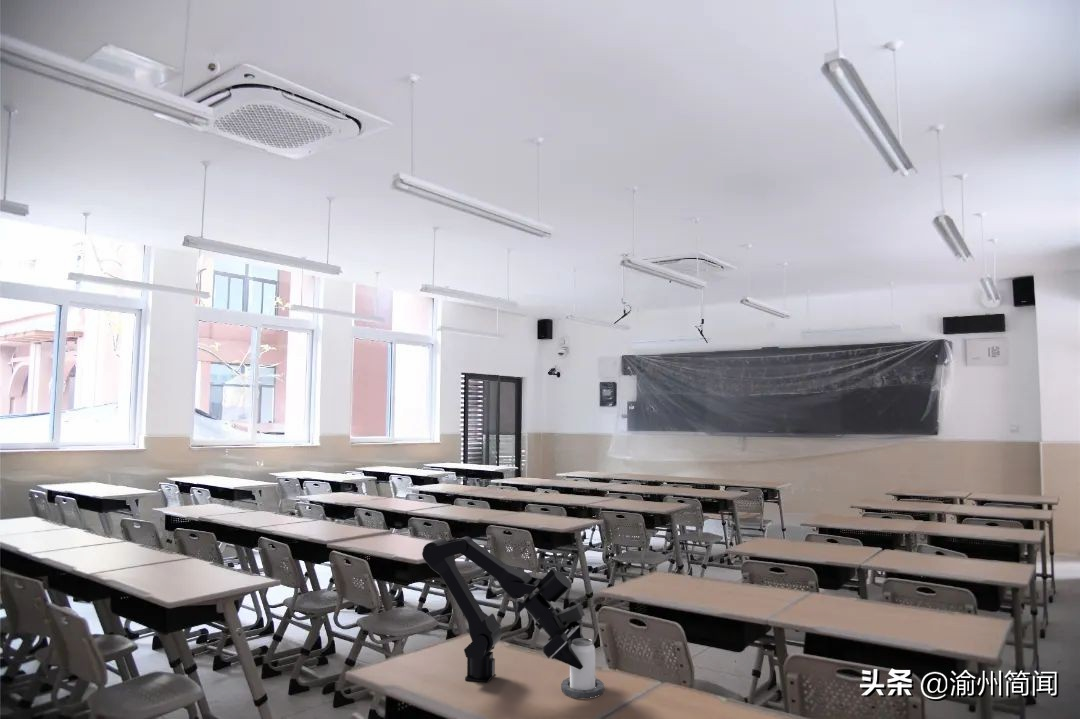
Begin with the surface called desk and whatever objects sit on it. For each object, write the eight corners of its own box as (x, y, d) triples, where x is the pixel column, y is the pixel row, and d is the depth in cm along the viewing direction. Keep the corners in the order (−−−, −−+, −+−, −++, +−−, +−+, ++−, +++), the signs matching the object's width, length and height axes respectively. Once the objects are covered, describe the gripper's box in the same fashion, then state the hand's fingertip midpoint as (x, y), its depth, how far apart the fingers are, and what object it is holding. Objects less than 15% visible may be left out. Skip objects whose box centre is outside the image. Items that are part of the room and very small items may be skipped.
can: (593, 696, 172) (593, 646, 172) (567, 694, 173) (567, 645, 174) (596, 686, 178) (596, 638, 179) (571, 684, 179) (571, 636, 180)
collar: (558, 696, 171) (558, 690, 172) (566, 680, 182) (566, 674, 182) (600, 700, 169) (600, 694, 169) (605, 684, 179) (605, 678, 179)
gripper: (555, 602, 170) (600, 653, 165) (574, 584, 187) (615, 629, 183) (525, 632, 171) (568, 683, 167) (546, 611, 189) (586, 657, 185)
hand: (586, 661), depth 176 cm, fingers open, 9 cm apart
